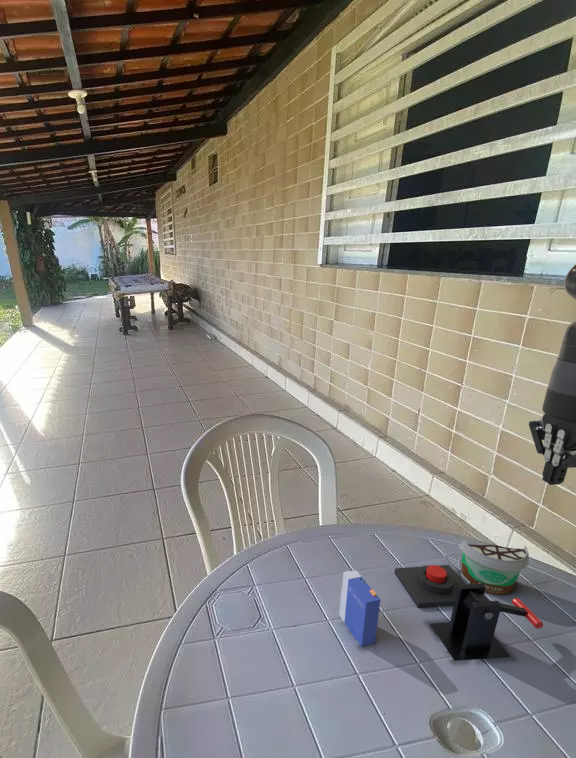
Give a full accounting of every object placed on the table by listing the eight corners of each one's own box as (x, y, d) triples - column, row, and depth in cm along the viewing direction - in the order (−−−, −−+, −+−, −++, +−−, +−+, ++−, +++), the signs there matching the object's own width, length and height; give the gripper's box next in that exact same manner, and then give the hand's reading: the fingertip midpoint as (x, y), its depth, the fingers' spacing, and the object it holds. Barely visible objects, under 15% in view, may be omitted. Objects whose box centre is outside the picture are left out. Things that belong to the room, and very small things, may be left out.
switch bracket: (479, 624, 81) (492, 576, 77) (510, 662, 74) (525, 611, 69) (428, 628, 81) (437, 579, 77) (453, 666, 74) (465, 615, 69)
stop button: (439, 571, 90) (440, 564, 89) (449, 583, 86) (450, 576, 86) (422, 572, 90) (423, 565, 89) (431, 584, 86) (433, 577, 86)
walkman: (374, 648, 78) (381, 597, 73) (360, 651, 77) (366, 601, 73) (351, 614, 85) (356, 567, 81) (338, 617, 85) (342, 570, 80)
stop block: (447, 572, 94) (450, 557, 93) (476, 607, 85) (480, 592, 83) (393, 575, 94) (395, 561, 93) (417, 611, 85) (420, 596, 83)
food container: (462, 597, 87) (471, 558, 84) (452, 576, 93) (460, 539, 89) (531, 606, 84) (543, 566, 81) (517, 583, 90) (528, 545, 86)
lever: (515, 606, 78) (522, 596, 77) (539, 631, 73) (546, 621, 72) (457, 594, 77) (463, 584, 76) (477, 618, 71) (484, 608, 71)
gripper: (644, 399, 61) (608, 502, 67) (566, 374, 73) (542, 463, 80) (593, 403, 61) (561, 505, 67) (523, 377, 73) (502, 466, 80)
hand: (551, 482), depth 73 cm, fingers closed
